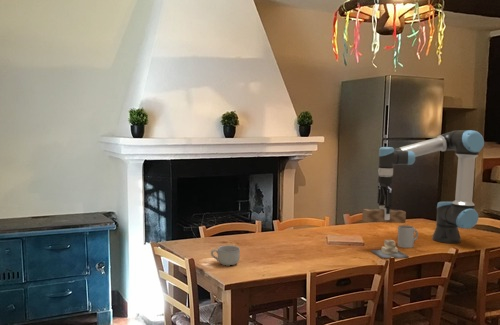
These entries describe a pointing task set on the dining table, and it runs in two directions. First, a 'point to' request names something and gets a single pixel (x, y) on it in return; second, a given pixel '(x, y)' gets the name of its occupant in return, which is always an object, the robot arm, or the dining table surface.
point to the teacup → (227, 254)
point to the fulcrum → (389, 251)
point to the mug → (406, 236)
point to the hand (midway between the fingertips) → (384, 218)
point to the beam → (378, 216)
